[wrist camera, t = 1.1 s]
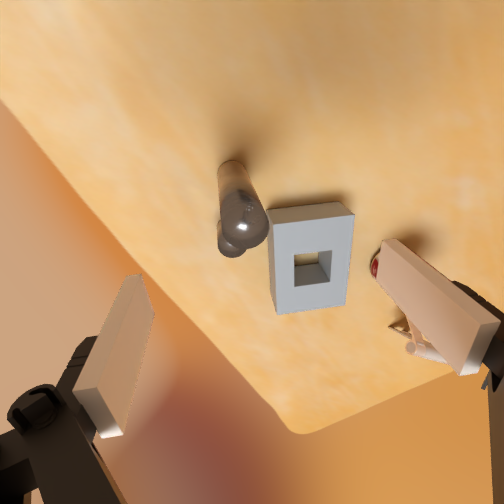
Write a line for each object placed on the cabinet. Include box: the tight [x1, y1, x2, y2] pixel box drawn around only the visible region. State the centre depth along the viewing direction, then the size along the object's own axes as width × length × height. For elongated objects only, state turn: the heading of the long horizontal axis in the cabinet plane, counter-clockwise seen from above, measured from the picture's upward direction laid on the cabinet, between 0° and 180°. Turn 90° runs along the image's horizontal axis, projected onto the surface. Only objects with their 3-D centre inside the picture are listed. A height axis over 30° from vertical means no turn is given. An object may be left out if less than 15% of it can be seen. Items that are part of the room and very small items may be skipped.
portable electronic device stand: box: [388, 316, 449, 365], centre depth 47 cm, size 9×8×8 cm
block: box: [266, 201, 355, 315], centre depth 40 cm, size 14×10×5 cm
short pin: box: [217, 220, 246, 258], centre depth 36 cm, size 4×4×5 cm
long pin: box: [218, 161, 269, 249], centre depth 28 cm, size 4×4×16 cm
